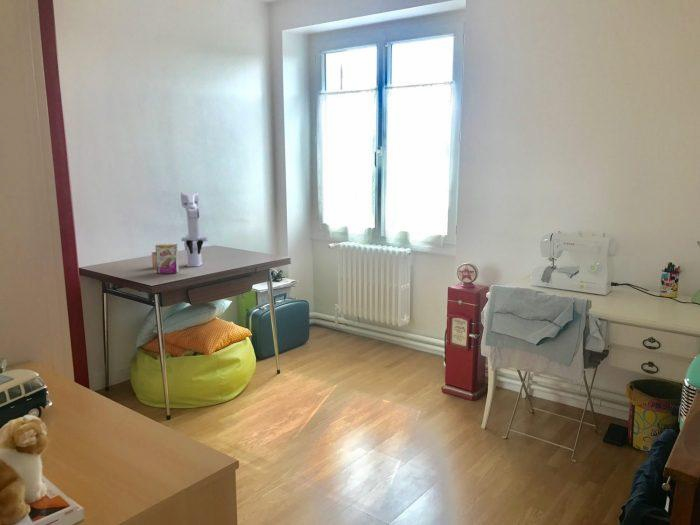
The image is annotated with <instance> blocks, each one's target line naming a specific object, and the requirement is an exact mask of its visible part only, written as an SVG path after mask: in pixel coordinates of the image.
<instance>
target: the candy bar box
mask: <svg viewBox="0 0 700 525" xmlns="http://www.w3.org/2000/svg"><path fill="white" fill-rule="evenodd" d="M178 249H179V247H178V244H177V243H157V244H156V245H155V252H156V261H157V269H156V274H157V275H158V274H163V275H164V274H178V273H179V272H180V270H179V268H180V267H179V266H180V265H179V250H178Z"/></svg>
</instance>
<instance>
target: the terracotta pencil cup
mask: <svg viewBox="0 0 700 525" xmlns="http://www.w3.org/2000/svg"><path fill="white" fill-rule="evenodd" d="M151 264H152V265H151V266H152V269H153V270H157V261H156V251H153V252H151Z"/></svg>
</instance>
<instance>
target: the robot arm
mask: <svg viewBox="0 0 700 525" xmlns="http://www.w3.org/2000/svg"><path fill="white" fill-rule="evenodd" d="M180 203H181V206H182V208H184V209H185V211H186V217H187V218H186V220H187V232H188V235H186V236H185V237H184V236H183V237H181V242H184V244H183V245H184V250H185V251H186V252H187V253H186V255H187V264H186V265H185V267H200V266H201V265H203V264H204V262H203V260H202V253H201V251H202V249H203V243H204V242H208V240H209V239H208V238H209V237H202V236H200V220H199V219H200V210H199V208H198V207H199V193H198V192H197V191H196V192H194V191H193V192H192V191H191V192H181V193H180Z"/></svg>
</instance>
